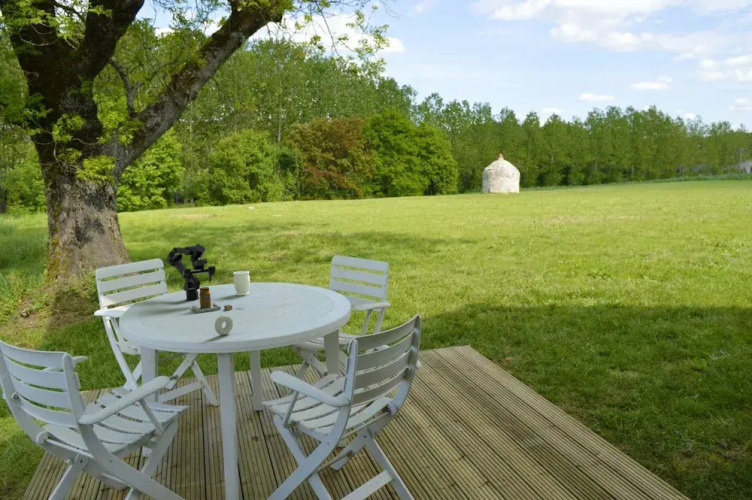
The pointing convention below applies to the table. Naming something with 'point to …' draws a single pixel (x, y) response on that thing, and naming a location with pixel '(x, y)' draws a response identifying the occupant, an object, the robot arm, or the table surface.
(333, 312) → the table surface
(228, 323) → the donut
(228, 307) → the tan block
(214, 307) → the holder
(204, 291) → the condiment
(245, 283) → the jar
